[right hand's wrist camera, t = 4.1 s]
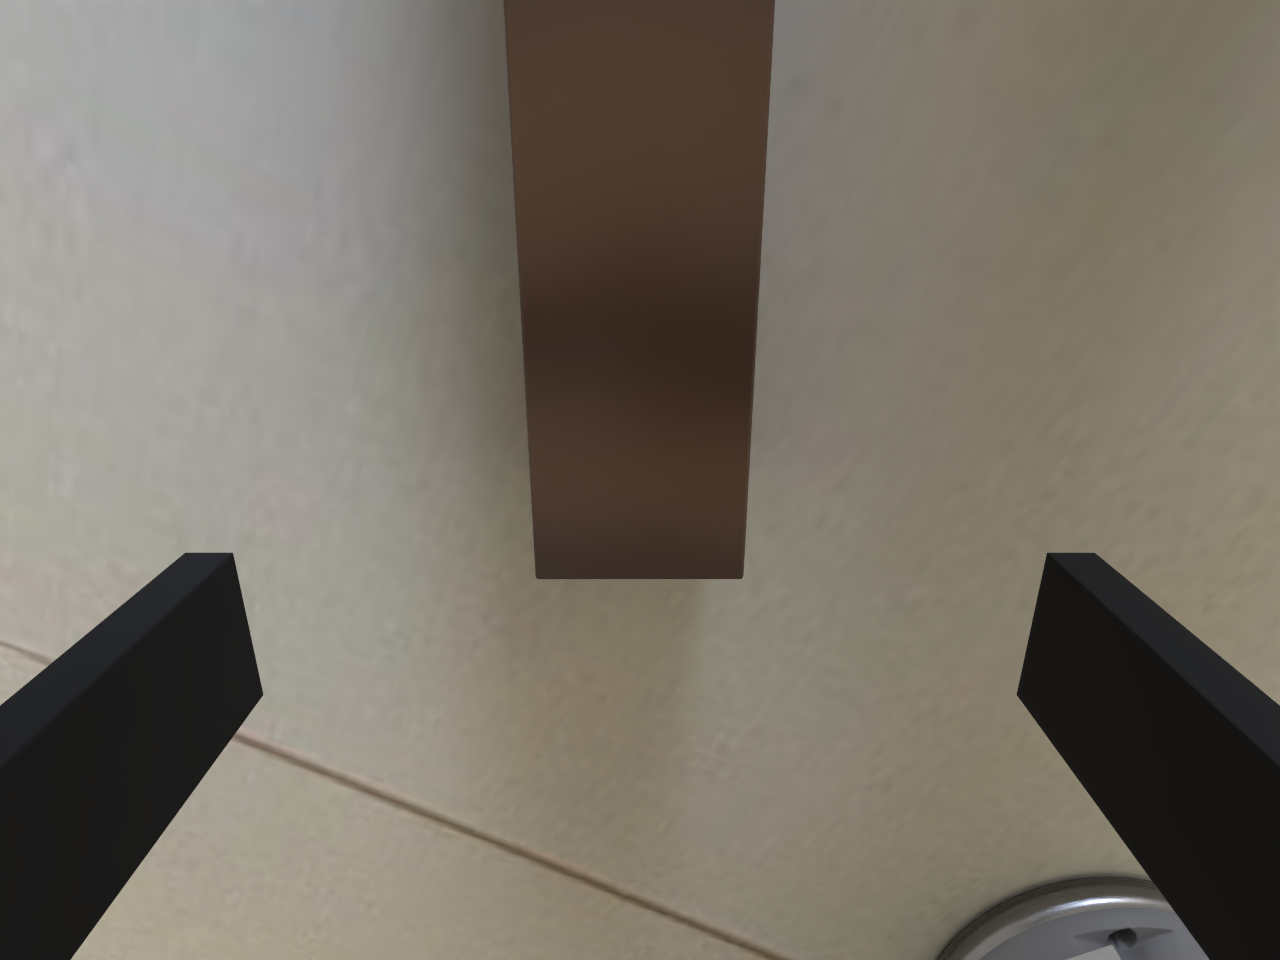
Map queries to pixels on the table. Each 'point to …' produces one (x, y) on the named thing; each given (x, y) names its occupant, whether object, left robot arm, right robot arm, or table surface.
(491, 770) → the table surface
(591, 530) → the beam
